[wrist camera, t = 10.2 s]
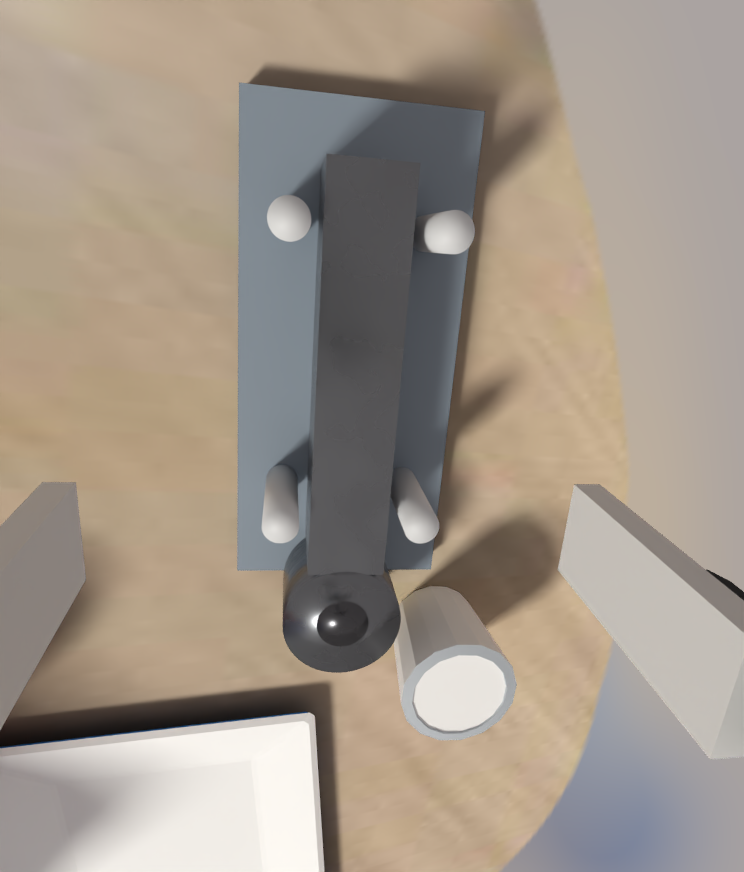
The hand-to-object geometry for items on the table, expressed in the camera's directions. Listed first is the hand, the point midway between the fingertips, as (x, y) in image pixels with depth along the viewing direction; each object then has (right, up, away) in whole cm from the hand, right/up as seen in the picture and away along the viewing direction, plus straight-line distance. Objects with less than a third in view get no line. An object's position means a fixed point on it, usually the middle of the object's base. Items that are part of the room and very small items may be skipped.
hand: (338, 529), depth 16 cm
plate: (-14, -27, +28) cm, 41 cm away
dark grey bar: (-1, +3, +18) cm, 18 cm away
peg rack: (-1, +7, +18) cm, 19 cm away
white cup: (+5, -10, +25) cm, 27 cm away
